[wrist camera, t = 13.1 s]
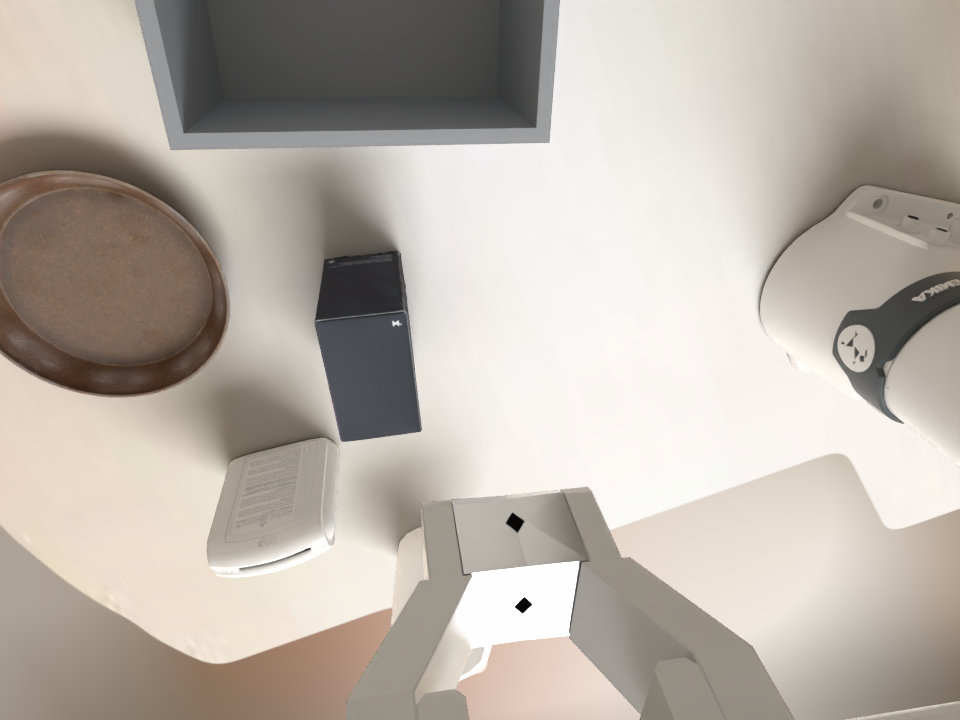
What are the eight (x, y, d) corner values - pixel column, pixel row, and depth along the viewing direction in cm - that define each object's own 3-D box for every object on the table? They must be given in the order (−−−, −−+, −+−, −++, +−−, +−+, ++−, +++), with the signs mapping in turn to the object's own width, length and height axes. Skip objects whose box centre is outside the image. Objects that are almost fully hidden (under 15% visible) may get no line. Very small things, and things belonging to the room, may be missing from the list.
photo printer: (240, 490, 58) (215, 599, 48) (222, 457, 56) (191, 564, 46) (345, 463, 59) (342, 565, 48) (331, 429, 56) (325, 529, 46)
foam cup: (372, 530, 64) (375, 642, 53) (456, 505, 64) (476, 611, 53) (399, 585, 69) (407, 697, 58) (477, 561, 69) (499, 668, 58)
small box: (317, 257, 48) (308, 319, 39) (400, 248, 48) (410, 306, 40) (341, 370, 53) (337, 446, 44) (414, 360, 54) (425, 433, 45)
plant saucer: (75, 103, 40) (55, 111, 37) (283, 285, 49) (279, 302, 46) (-81, 272, 44) (-108, 290, 41) (139, 413, 52) (128, 434, 50)
